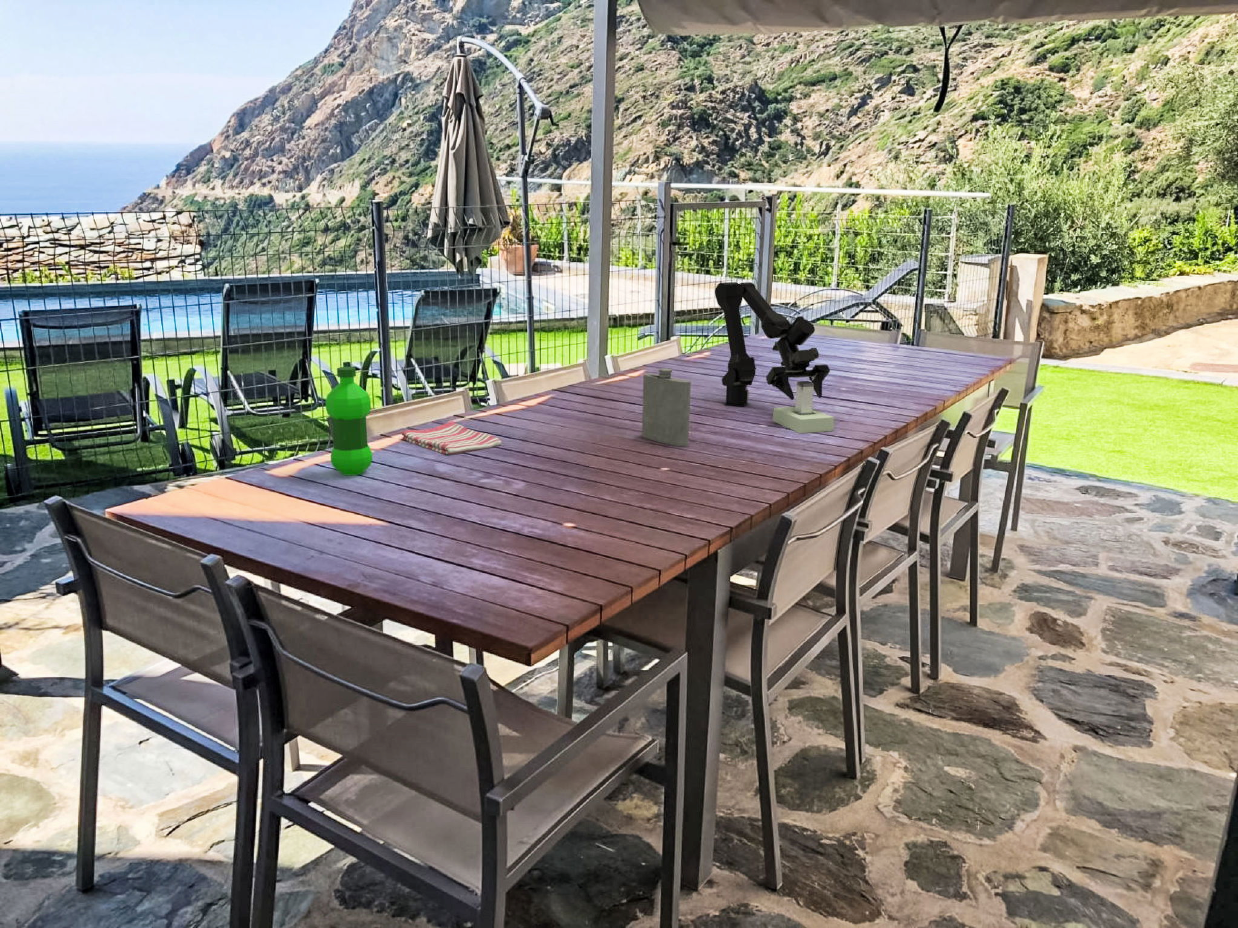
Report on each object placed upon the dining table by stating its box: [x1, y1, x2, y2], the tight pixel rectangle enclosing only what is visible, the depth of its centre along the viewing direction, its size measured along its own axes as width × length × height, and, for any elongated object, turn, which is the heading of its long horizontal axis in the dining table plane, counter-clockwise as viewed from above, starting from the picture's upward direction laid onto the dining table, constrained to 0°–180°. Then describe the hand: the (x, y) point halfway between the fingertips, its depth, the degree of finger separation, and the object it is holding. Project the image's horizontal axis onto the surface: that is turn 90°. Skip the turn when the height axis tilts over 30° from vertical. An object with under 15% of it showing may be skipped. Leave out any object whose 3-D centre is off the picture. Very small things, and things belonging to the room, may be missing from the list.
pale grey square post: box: [794, 380, 814, 415], centre depth 280 cm, size 4×4×13 cm
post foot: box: [772, 406, 835, 434], centre depth 281 cm, size 16×11×4 cm
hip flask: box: [641, 367, 692, 447], centre depth 259 cm, size 16×4×20 cm, turn 46°
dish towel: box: [401, 420, 502, 456], centre depth 255 cm, size 17×23×4 cm
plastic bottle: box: [325, 366, 373, 476], centre depth 224 cm, size 10×10×25 cm
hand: (807, 398), depth 278 cm, fingers open, 9 cm apart
